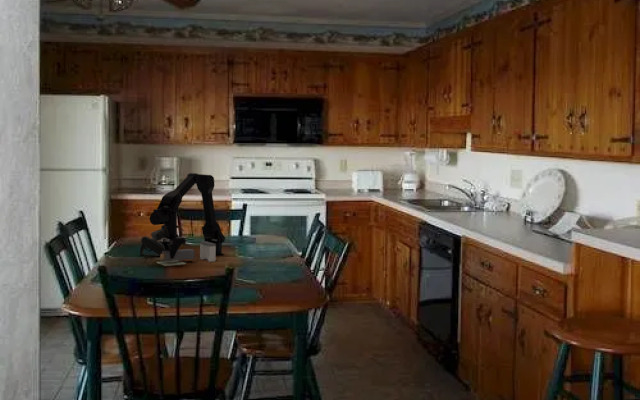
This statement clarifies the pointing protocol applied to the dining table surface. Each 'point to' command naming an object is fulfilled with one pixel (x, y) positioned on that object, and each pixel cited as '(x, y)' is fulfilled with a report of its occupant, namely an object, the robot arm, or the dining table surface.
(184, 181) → the robot arm
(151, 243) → the gun
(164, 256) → the grey tall block
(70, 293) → the dining table surface
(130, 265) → the dining table surface
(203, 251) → the clip
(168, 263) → the mat
